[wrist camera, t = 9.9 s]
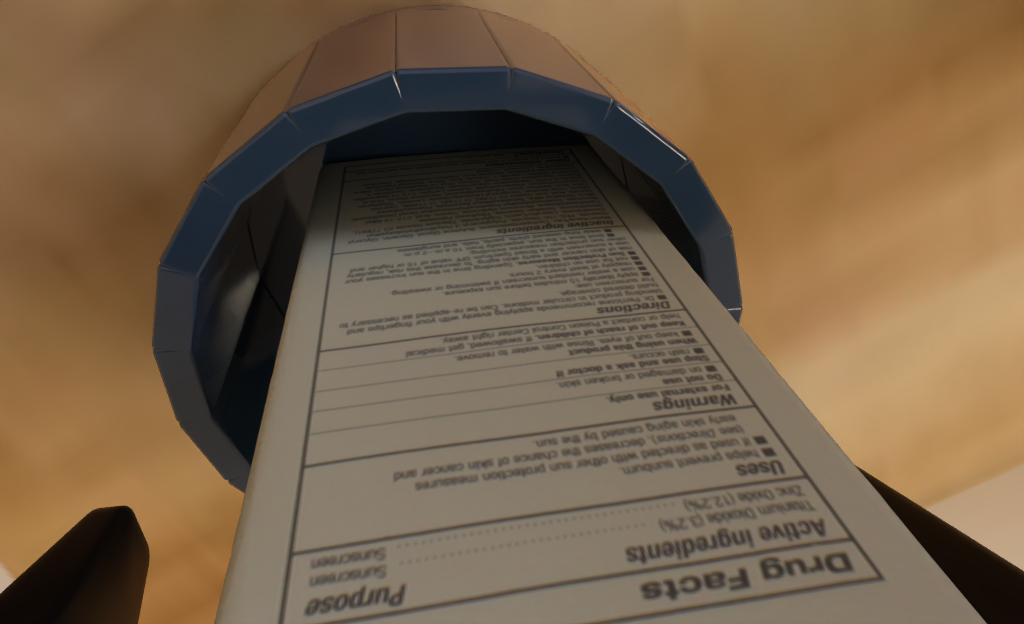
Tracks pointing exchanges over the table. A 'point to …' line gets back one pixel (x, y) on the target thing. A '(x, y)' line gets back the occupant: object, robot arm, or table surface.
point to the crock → (379, 134)
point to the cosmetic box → (542, 425)
